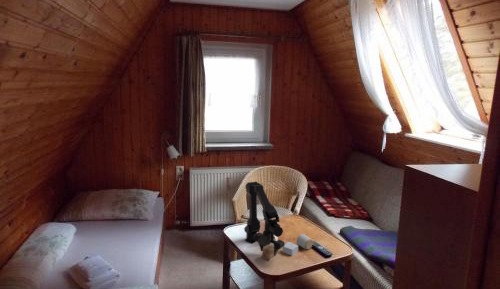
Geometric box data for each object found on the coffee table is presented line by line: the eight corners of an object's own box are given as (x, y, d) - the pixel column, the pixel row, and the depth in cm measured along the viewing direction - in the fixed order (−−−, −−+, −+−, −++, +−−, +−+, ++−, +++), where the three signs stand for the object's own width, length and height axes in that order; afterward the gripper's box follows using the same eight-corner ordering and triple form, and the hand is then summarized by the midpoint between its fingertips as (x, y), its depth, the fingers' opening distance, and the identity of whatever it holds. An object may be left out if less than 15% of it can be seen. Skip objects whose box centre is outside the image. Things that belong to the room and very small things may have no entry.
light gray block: (282, 252, 206) (282, 246, 205) (288, 247, 212) (288, 241, 211) (292, 255, 202) (292, 249, 201) (297, 251, 208) (298, 245, 207)
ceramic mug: (305, 251, 208) (306, 240, 206) (295, 246, 214) (296, 235, 212) (316, 246, 214) (317, 235, 213) (306, 241, 220) (307, 230, 219)
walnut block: (262, 257, 199) (262, 248, 198) (267, 254, 203) (267, 245, 202) (269, 260, 197) (269, 250, 195) (273, 256, 200) (274, 247, 199)
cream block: (267, 245, 213) (268, 237, 212) (270, 242, 218) (270, 234, 216) (275, 247, 211) (275, 238, 210) (277, 244, 216) (278, 235, 215)
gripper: (248, 229, 196) (247, 253, 199) (275, 239, 185) (274, 264, 188) (259, 223, 204) (258, 246, 207) (285, 232, 193) (284, 256, 196)
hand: (268, 253), depth 200 cm, fingers open, 9 cm apart
